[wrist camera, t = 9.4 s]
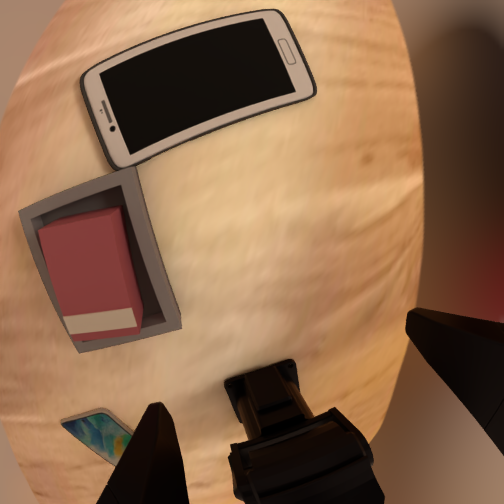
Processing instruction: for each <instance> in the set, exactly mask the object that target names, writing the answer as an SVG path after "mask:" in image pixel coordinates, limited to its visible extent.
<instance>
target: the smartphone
mask: <svg viewBox="0 0 504 504" xmlns="http://www.w3.org/2000/svg"><path fill="white" fill-rule="evenodd" d="M61 425H62V426H63V427H64V428H65V429H66V430H67V431H68V432H70V433H71V434H72V435H73V436H74V437H76V438H77V439H78V440H79V441H81V442H82V443H83V444H85V445H86V446H87V447H88V448H90V449H91V450H92V451H94V452H95V453H96V454H98V455H99V456H101V457H102V458H103V459H105V460H106V461H108V462H109V463H111V464H112V465H114V466H115V467H116V465H117V463H118V461H119V460H120V458H121V456H122V454H123V452H124V450H125V448H126V446H127V444H128V443H129V441H130V439H131V436H132V435H133V433H134V432H133V431H132V430H131V429H130V428H128V427H127V426H126V425H125V424H124V423H123V422H122V421H120V420H119V419H118V418H117V417H116V416H115V415H114V414H113V413H112V412H110V411H109V410H108V409H105V408H98V409H95V410H92V411H88V412H85V413H82V414H78V415H75V416H71V417H68V418H64V419H62V420H61ZM119 426H120V427H119Z"/></svg>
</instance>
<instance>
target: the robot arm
mask: <svg viewBox="0 0 504 504" xmlns="http://www.w3.org/2000/svg"><path fill="white" fill-rule="evenodd" d="M405 331H406V333H407V335H408V337H409V338H410V339H411V341H412V342H413V343H414V345H415V346H416V347H417V349H418V350H419V352H420V353H421V354H422V356H423V357H424V359H425V360H426V361H427V363H428V364H429V365H430V366H431V367H432V368H433V369H434V371H435V372H436V373H437V374H438V375H439V376H440V377H441V379H442V380H443V381H444V382H445V383H446V384H447V386H449V388H450V389H451V390H452V391H453V393H454V394H455V395H456V396H457V397H458V399H459V400H460V401H461V402H462V403H463V405H464V406H465V407H466V408H467V409H468V411H469V412H470V413H471V414H472V415H473V417H474V418H475V419H476V420H477V422H478V423H479V424H480V425H481V427H482V428H483V429H484V431H485V432H486V433H487V434H488V436H489V437H490V438H491V440H492V441H493V442H494V444H495V445H496V446H497V447H498V449H499V450H500V452H501V453H502V454H503V456H504V323H500V322H494V321H488V320H482V319H477V318H472V317H466V316H460V315H455V314H449V313H444V312H439V311H434V310H428V309H423V308H418V307H416V308H414V309H412V310H410V311H409V312H408V313H407V318H406V327H405ZM289 364H291V365H289ZM229 384H231V385H229ZM224 386H225V389H226V391H227V394H228V396H229V399H230V401H231V404H232V406H233V408H234V411H235V413H236V415H237V418H238V420H239V422H240V423H243V425H244V428H245V431H246V434H247V437H248V441H245V442H241V443H238V444H237V443H234V444H230V446H231V451H232V452H231V453H230V455H229V456H228V460H229V463H230V467H231V471H232V478H233V491H234V495H235V497H236V498H237V499H239V500H242V501H244V502H245V504H384V500H385V496H384V493H383V492H382V490H381V488H380V486H379V484H378V482H377V480H376V478H375V476H374V473H373V471H372V468H371V466H372V465H373V462H374V459H373V454H372V451H371V448H370V446H369V444H368V442H367V440H366V439H365V437H364V436H363V434H362V433H361V432H360V431H359V430H358V429H357V428H356V427H355V426H354V425H353V424H352V423H351V422H350V421H349V420H348V419H347V418H346V417H345V416H344V415H343V414H342V413H341V412H340V411H339V410H338V409H337V408H335V407H333V408H331V409H329V410H328V411H327V412H325V413H322V414H320V415H318V416H315V417H314V415H313V414H312V412H311V410H310V408H309V407H308V405H307V403H306V402H305V400H304V398H303V397H302V395H301V393H300V388H299V381H298V374H297V367H296V363H295V361H294V360H293V359H288V360H285V361H282V362H280V363H277V364H274V365H271V366H268V367H265V368H262V369H259V370H256V371H253V372H250V373H247V374H243V375H240V376H237V377H234V378H230V379H227V380H226V381H225V382H224ZM107 484H108V485H106V486H105V488H104V490H103V492H102V494H101V496H100V497H99V499H98V501H97V503H96V504H189V499H188V492H187V486H186V479H185V472H184V465H183V459H182V455H181V451H180V447H179V443H178V439H177V435H176V430H175V426H174V422H173V419H172V417H171V415H170V413H169V412H168V410H167V409H166V407H165V406H164V404H163V403H162V402H156V403H151V404H149V405H148V407H147V409H146V411H145V413H144V415H143V416H142V418H141V420H140V422H139V424H138V426H137V428H136V429H135V431H134V433H133V435H132V437H131V439H130V441H129V443H128V444H127V446H126V448H125V450H124V452H123V454H122V456H121V458H120V460H119V461H118V463H117V465H116V467H115V469H114V471H113V473H112V475H111V477H110V479H109V481H108V482H107Z"/></svg>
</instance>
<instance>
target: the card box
mask: <svg viewBox="0 0 504 504" xmlns="http://www.w3.org/2000/svg"><path fill="white" fill-rule="evenodd" d="M38 233H39V237H40V241H41V246H42V250H43V254H44V257H45V261H46V265H47V268H48V272H49V275H50V278H51V282H52V285H53V288H54V291H55V294H56V297H57V300H58V303H59V306H60V308H61V311H62V314H63V319H64V321H65V324H66V326H67V329H68V331H69V334H71V336H72V339H73V341H74V342H75V341H86V340H96V339H105V338H114V337H122V336H130V335H138V334H140V329H141V322H142V316H143V309H144V304H143V301H142V297H141V293H140V289H139V285H138V280H137V276H136V272H135V267H134V263H133V258H132V254H131V249H130V244H129V238H128V233H127V228H126V222H125V216H124V210H123V205H119V206H113V207H108V208H103V209H98V210H93V211H88V212H83V213H79V214H74V215H69V216H65V217H61V218H59V219H57V220H55V221H53V222H51V223H50V224H48V225H46V226H44V227H43V228H41V229H39V230H38Z"/></svg>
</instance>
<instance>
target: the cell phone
mask: <svg viewBox="0 0 504 504" xmlns="http://www.w3.org/2000/svg"><path fill="white" fill-rule="evenodd" d="M160 37H161V38H160ZM157 38H158V39H157ZM152 40H153V41H152ZM80 88H81V92H82V95H83V98H84V101H85V104H86V107H87V110H88V112H89V115H90V118H91V121H92V123H93V126H94V129H95V131H96V134H97V136H98V139H99V142H100V144H101V147H102V149H103V151H104V154H105V156H106V158H107V160H108V162H109V164H110V166H111V167H112V168H113V169H114V170H116V171H119V170H122V169H126V168H129V167H134V166H137V165H139V164H141V163H143V162H145V161H147V160H150V159H151V158H152V157H154V156H157V155H159V154H161V153H163V152H165V151H167V150H169V149H172V148H174V147H176V146H178V145H181V144H183V143H185V142H188V141H192V140H194V139H196V138H199V137H201V136H203V135H206V134H208V133H211V132H213V131H216V130H219V129H221V128H224V127H226V126H229V125H232V124H234V123H237V122H240V121H243V120H246V119H248V118H251V117H254V116H257V115H260V114H263V113H266V112H269V111H272V110H276V109H279V108H282V107H285V106H289V105H292V104H296V103H299V102H303V101H305V100H308V99H310V98H312V97H314V96H315V95H316V94H317V86H316V83H315V80H314V77H313V75H312V72H311V70H310V68H309V65H308V63H307V61H306V58H305V56H304V54H303V52H302V50H301V47H300V45H299V43H298V41H297V39H296V37H295V35H294V32H293V30H292V28H291V26H290V24H289V22H288V20H287V19H286V17H285V16H284V14H283V13H282V12H281V11H279V10H277V9H262V10H256V11H250V12H244V13H239V14H234V15H230V16H225V17H221V18H217V19H213V20H209V21H205V22H201V23H198V24H194V25H191V26H188V27H184V28H181V29H178V30H175V31H172V32H169V33H166V34H164V35H161V36H158V37H155V38H153V39H150V40H148V41H145V42H143V43H140V44H138V45H135V46H133V47H131V48H129V49H126V50H124V51H122V52H120V53H118V54H115V55H113V56H111V57H109V58H107V59H105V60H103V61H101V62H99V63H97V64H96V65H94V66H93V67H91V68H89V69H88V70H87V71H85V72H84V73H83V74H82V76H81V77H80Z"/></svg>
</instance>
